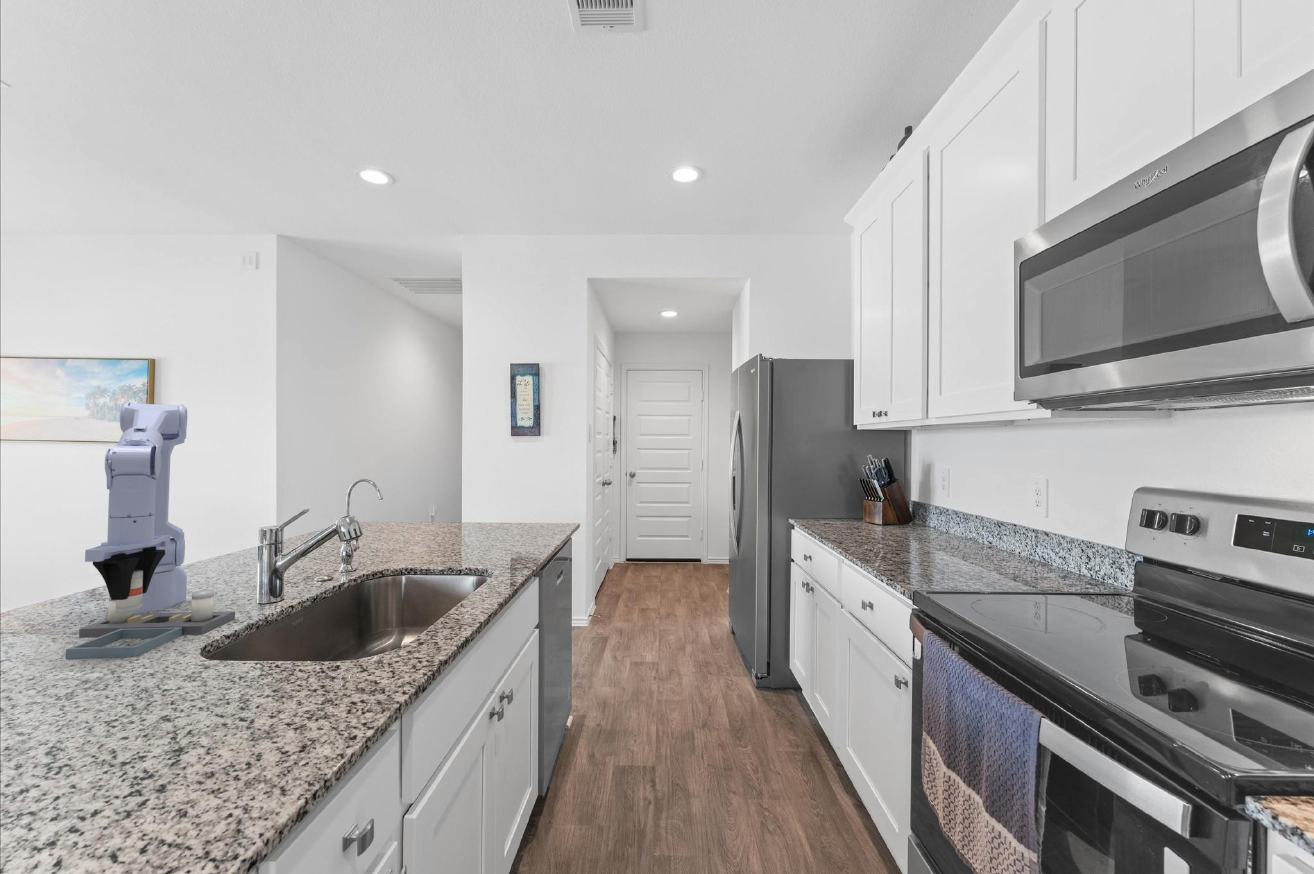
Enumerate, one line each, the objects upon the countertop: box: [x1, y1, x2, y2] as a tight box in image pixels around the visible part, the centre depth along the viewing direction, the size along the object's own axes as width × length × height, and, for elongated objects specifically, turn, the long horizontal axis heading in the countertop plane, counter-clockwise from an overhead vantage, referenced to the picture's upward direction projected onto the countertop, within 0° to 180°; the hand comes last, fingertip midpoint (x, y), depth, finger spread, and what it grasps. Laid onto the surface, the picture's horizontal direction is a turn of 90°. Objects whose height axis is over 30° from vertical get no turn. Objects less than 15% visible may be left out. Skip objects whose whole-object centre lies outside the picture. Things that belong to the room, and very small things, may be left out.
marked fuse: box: [116, 570, 143, 613], centre depth 92 cm, size 3×3×6 cm
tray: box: [65, 627, 183, 660], centre depth 92 cm, size 10×10×2 cm
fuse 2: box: [190, 589, 215, 622], centre depth 102 cm, size 3×3×6 cm
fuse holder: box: [78, 610, 236, 639], centre depth 102 cm, size 9×20×3 cm, turn 96°
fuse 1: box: [107, 594, 132, 624], centre depth 101 cm, size 3×3×6 cm
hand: (129, 596), depth 92 cm, fingers closed on marked fuse, 3 cm apart
